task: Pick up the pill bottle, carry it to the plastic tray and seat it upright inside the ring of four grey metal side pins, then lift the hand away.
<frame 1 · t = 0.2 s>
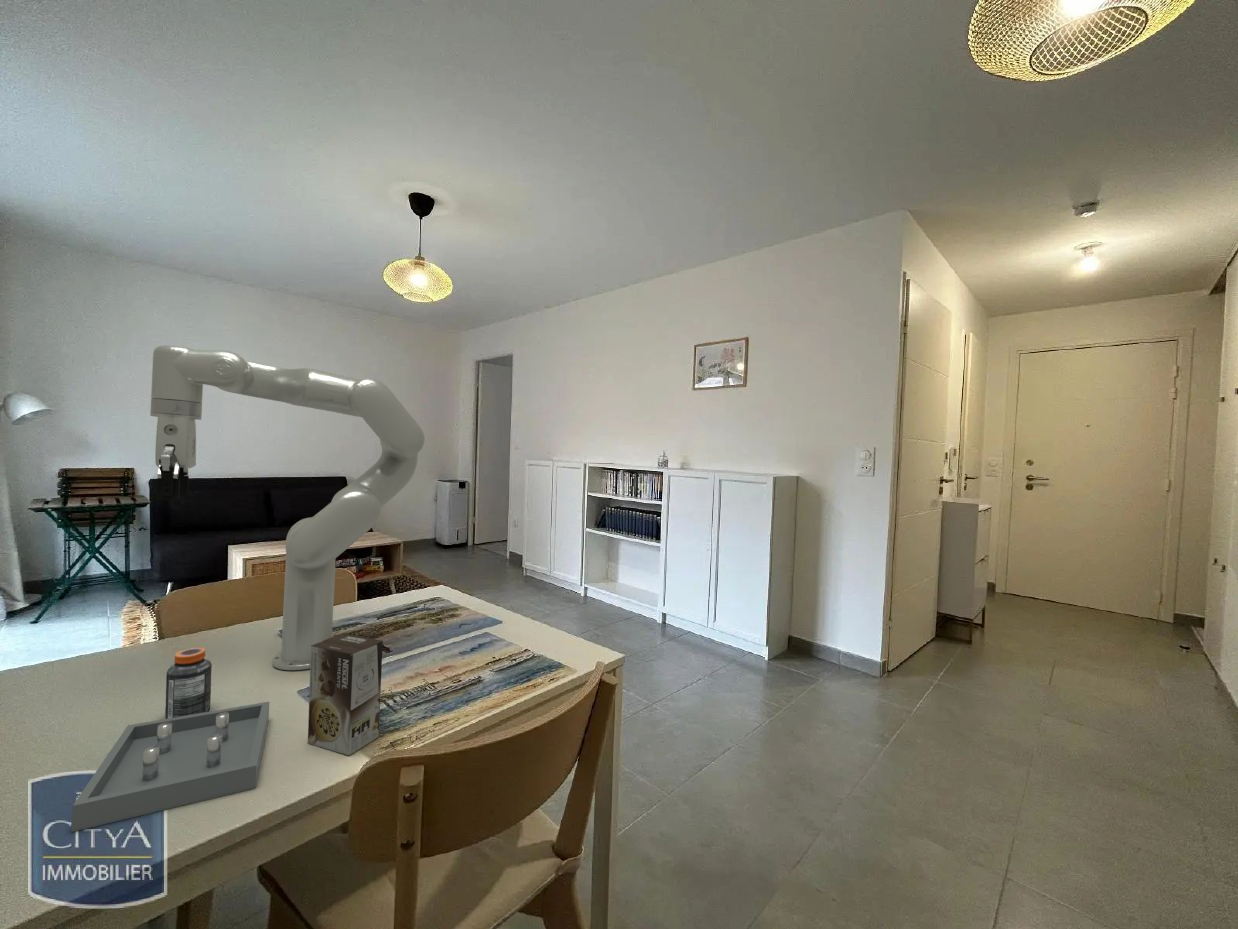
hand: (172, 497, 98), 36 cm above the table, tool pointing down, fingers open, 9 cm apart
pill bottle: (187, 717, 86), on the table
coffee box: (343, 741, 82), on the table
pin tray: (187, 765, 73), on the table
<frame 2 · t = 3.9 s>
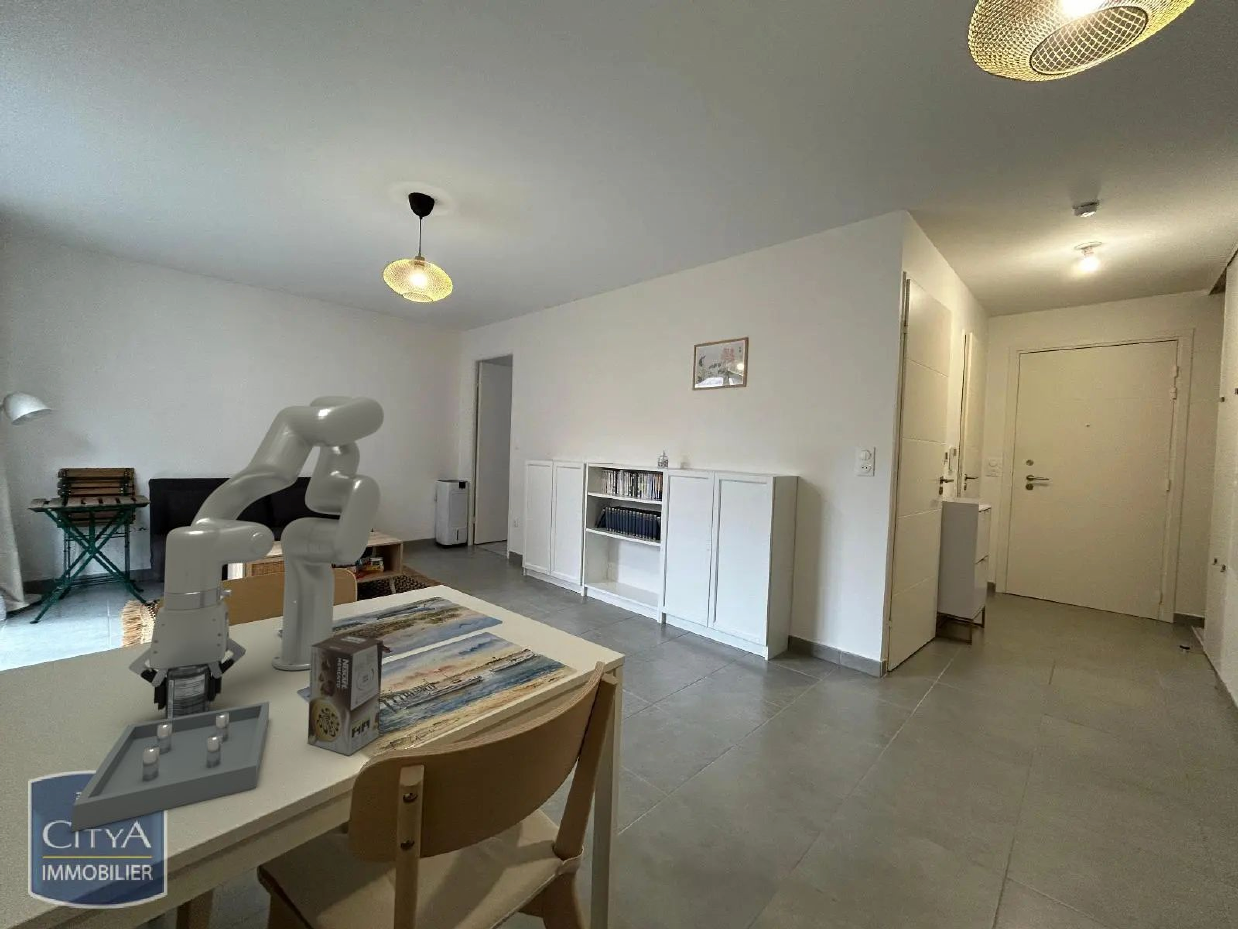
hand: (188, 701, 86), 3 cm above the table, tool pointing down, fingers closed on pill bottle, 6 cm apart
pill bottle: (187, 717, 86), on the table, touching gripper
everything else where it was.
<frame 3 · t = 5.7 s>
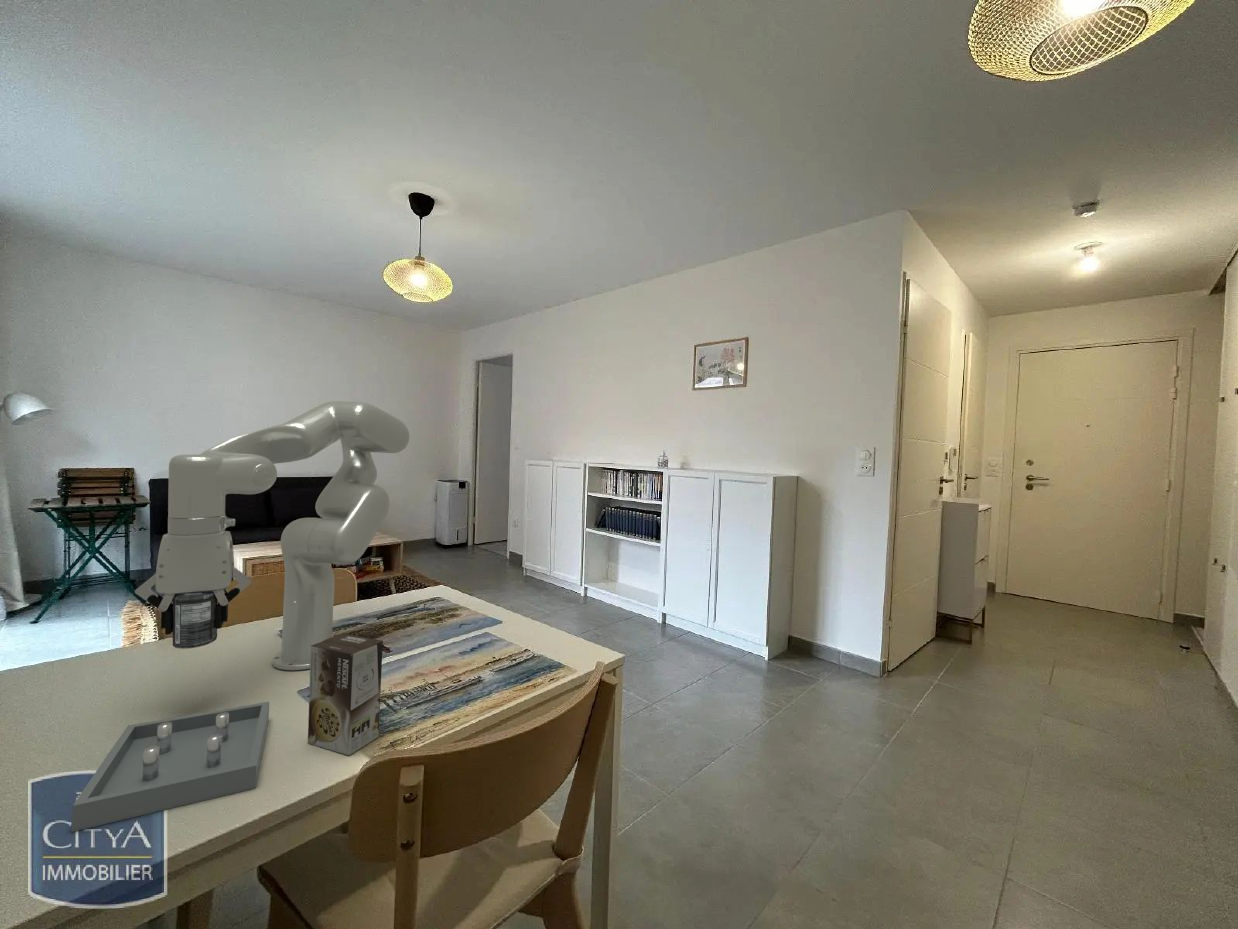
hand: (195, 628, 87), 15 cm above the table, tool pointing down, fingers closed on pill bottle, 6 cm apart
pill bottle: (195, 644, 87), point 12 cm above the table, touching gripper
everything else where it was.
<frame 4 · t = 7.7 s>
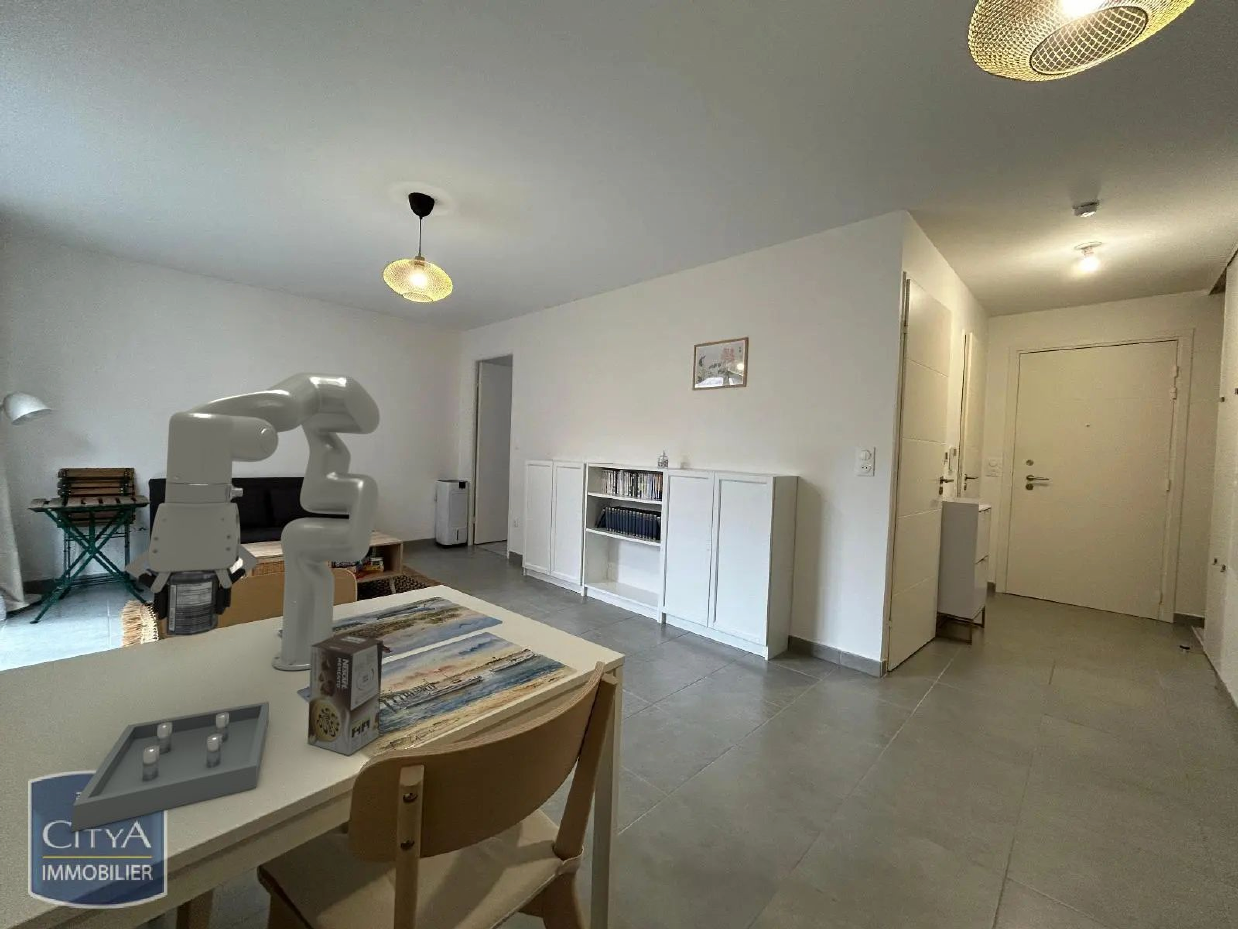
hand: (193, 613, 75), 22 cm above the table, tool pointing down, fingers closed on pill bottle, 6 cm apart
pill bottle: (192, 632, 75), point 19 cm above the table, touching gripper
everything else where it was.
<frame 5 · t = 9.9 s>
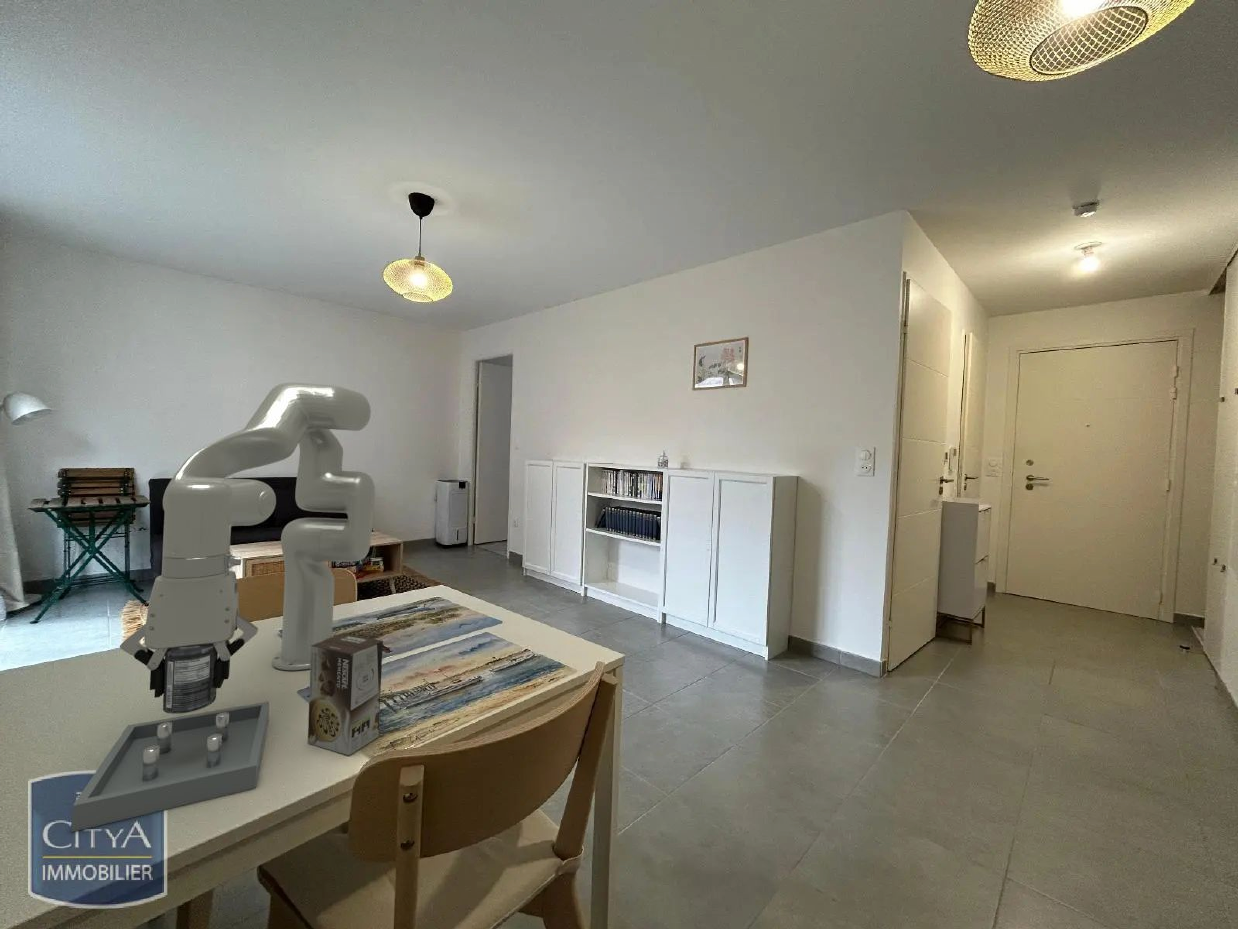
hand: (190, 687, 73), 12 cm above the table, tool pointing down, fingers closed on pill bottle, 6 cm apart
pill bottle: (189, 706, 73), point 9 cm above the table, touching gripper
everything else where it was.
when the fingers open (5 cm above the table, at t = 11.6 s): pill bottle drops 2 cm, resting on pin tray.
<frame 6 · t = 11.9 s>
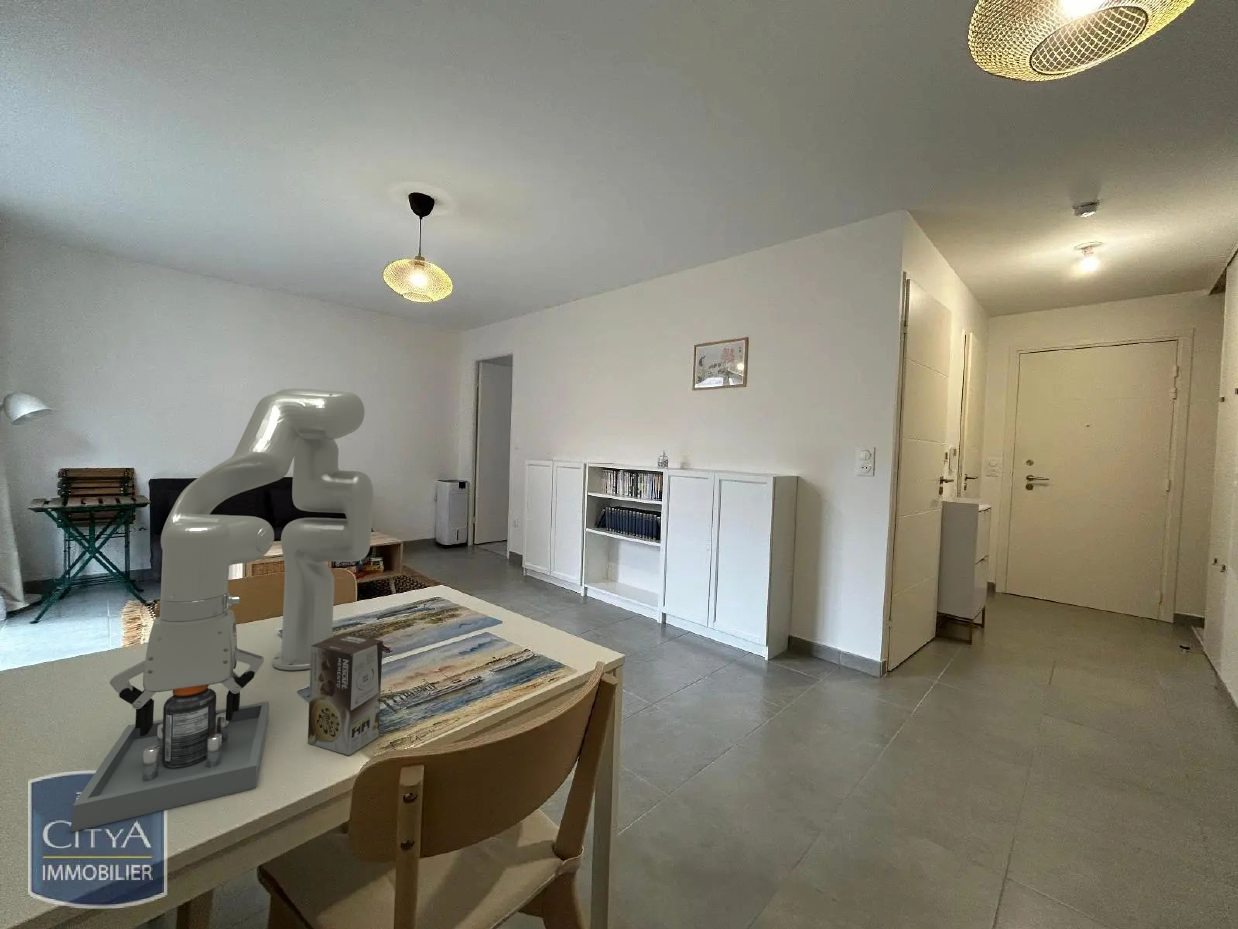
hand: (189, 723, 73), 6 cm above the table, tool pointing down, fingers open, 9 cm apart
pill bottle: (188, 758, 73), point 1 cm above the table, touching pin tray
everything else where it was.
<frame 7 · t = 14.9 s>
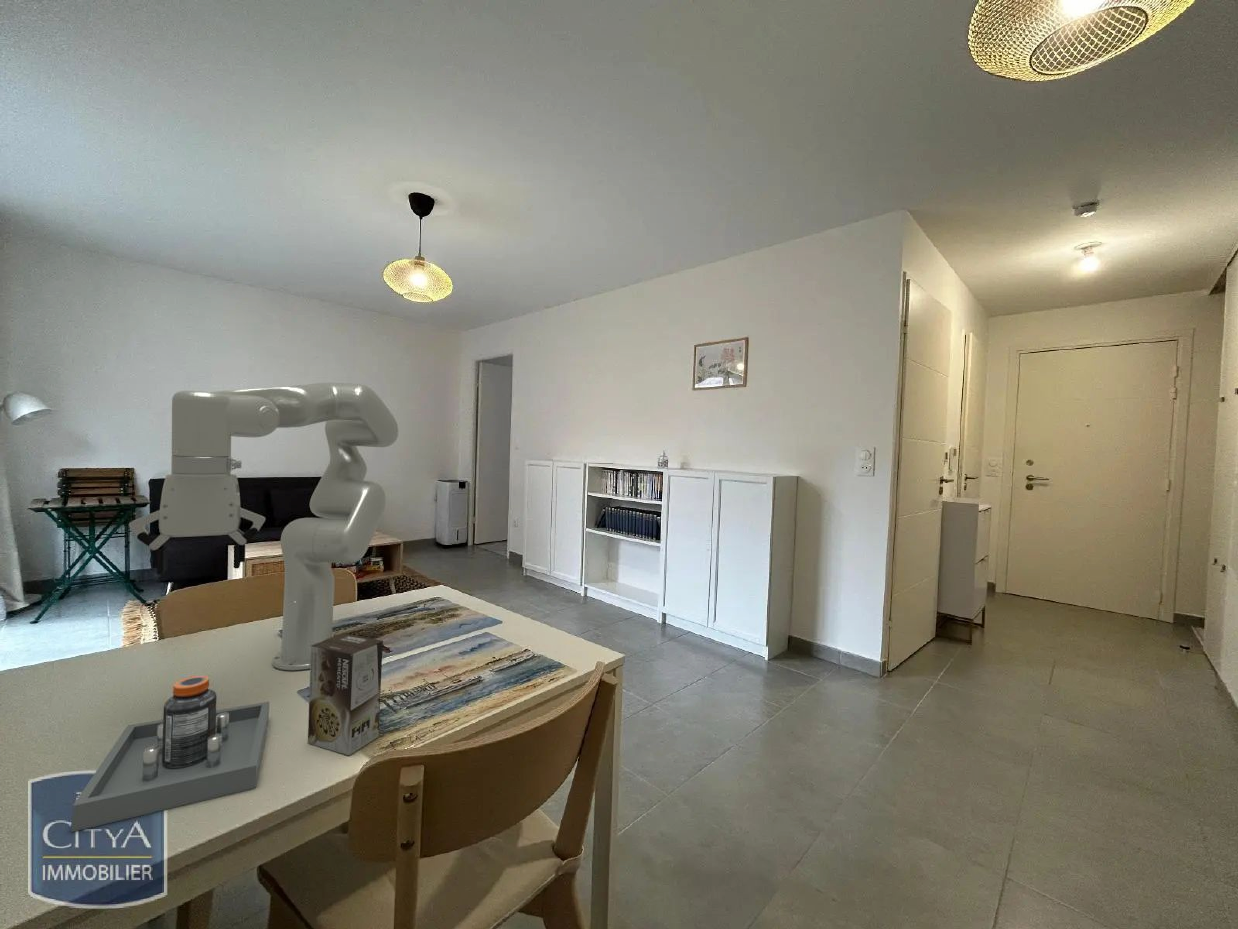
hand: (200, 569, 83), 26 cm above the table, tool pointing down, fingers open, 9 cm apart
nothing on the table moved.
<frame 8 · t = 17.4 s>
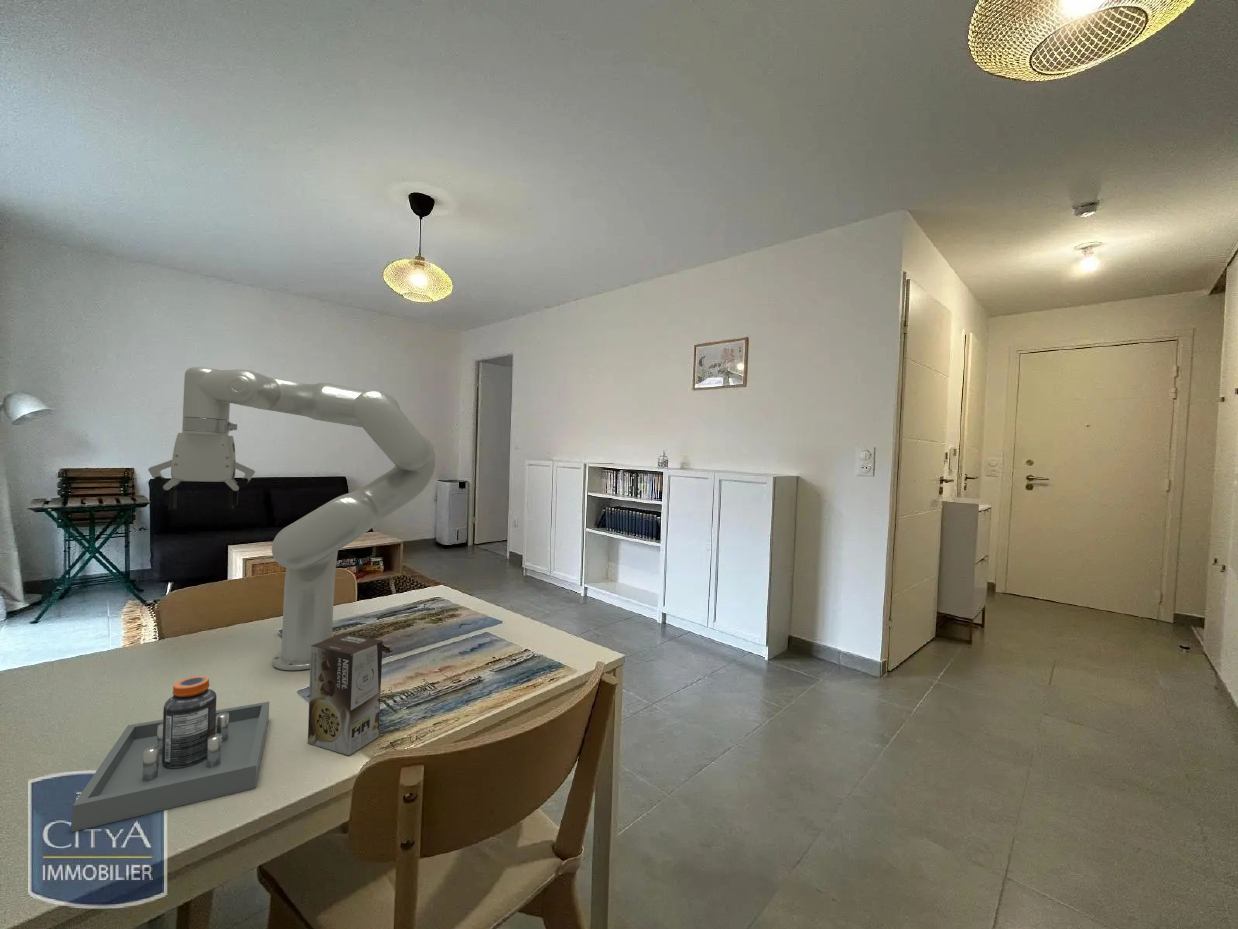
hand: (202, 508, 105), 33 cm above the table, tool pointing down, fingers open, 9 cm apart
nothing on the table moved.
at the end: pill bottle 0.2 cm off-centre on the pin tray, point 1.0 cm above the pin tray's base; pill bottle tilted 0°; the gripper is holding nothing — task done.
